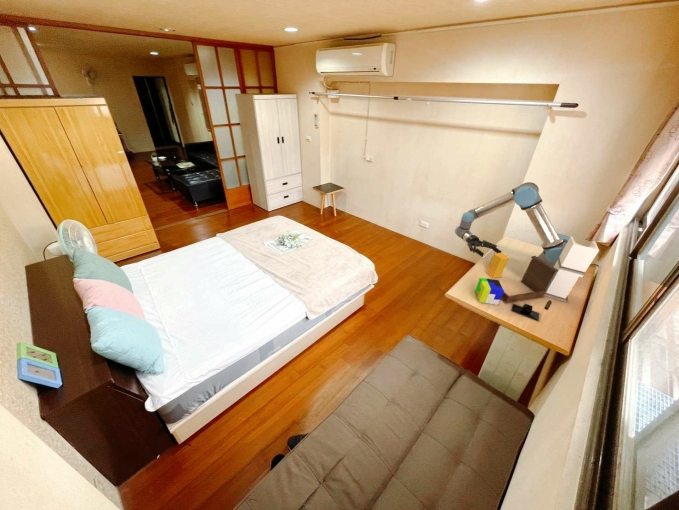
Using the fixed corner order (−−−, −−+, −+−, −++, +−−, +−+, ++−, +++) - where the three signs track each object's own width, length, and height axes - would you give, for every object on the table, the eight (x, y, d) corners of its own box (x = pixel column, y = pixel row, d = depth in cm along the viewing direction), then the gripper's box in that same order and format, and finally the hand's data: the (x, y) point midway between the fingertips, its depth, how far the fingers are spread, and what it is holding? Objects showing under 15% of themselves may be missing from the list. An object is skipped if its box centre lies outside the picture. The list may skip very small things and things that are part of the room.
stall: (522, 281, 168) (535, 255, 158) (544, 297, 155) (559, 270, 145) (486, 286, 163) (497, 260, 153) (505, 303, 150) (518, 276, 140)
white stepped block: (566, 302, 152) (599, 250, 133) (544, 295, 156) (573, 244, 138) (564, 291, 160) (595, 241, 142) (543, 285, 165) (570, 235, 146)
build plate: (511, 311, 144) (514, 304, 142) (513, 304, 149) (516, 297, 147) (538, 321, 138) (541, 314, 136) (538, 313, 143) (542, 306, 141)
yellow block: (494, 271, 176) (502, 252, 169) (500, 276, 172) (509, 257, 164) (486, 272, 175) (494, 253, 167) (492, 277, 170) (500, 258, 162)
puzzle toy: (497, 304, 148) (504, 290, 143) (479, 301, 150) (484, 288, 145) (492, 293, 157) (498, 280, 152) (475, 290, 158) (480, 277, 153)
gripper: (484, 242, 195) (505, 256, 178) (454, 245, 190) (473, 260, 173) (487, 233, 191) (509, 247, 174) (457, 236, 186) (477, 251, 169)
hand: (491, 254), depth 173 cm, fingers open, 13 cm apart
